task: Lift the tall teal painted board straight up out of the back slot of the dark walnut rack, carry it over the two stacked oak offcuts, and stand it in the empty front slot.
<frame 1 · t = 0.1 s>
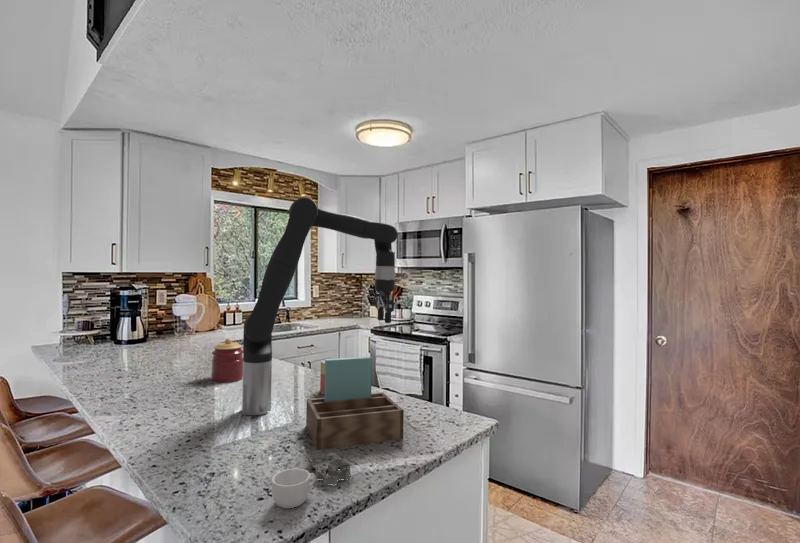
hand: (384, 321, 160), 29 cm above the counter, tool pointing down, fingers open, 8 cm apart
rack: (352, 437, 123), on the counter
canned food: (334, 391, 170), on the counter
egg carton: (329, 476, 100), on the counter
teacup: (295, 501, 89), on the counter
canister: (227, 379, 185), on the counter
teal board: (347, 424, 129), point 1 cm above the counter, touching rack
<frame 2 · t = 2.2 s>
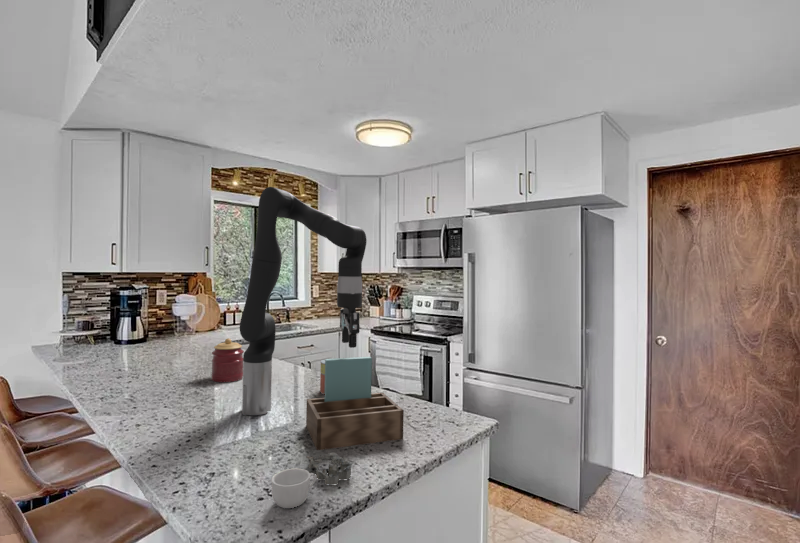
hand: (348, 344, 129), 26 cm above the counter, tool pointing down, fingers open, 8 cm apart
nothing on the counter moved.
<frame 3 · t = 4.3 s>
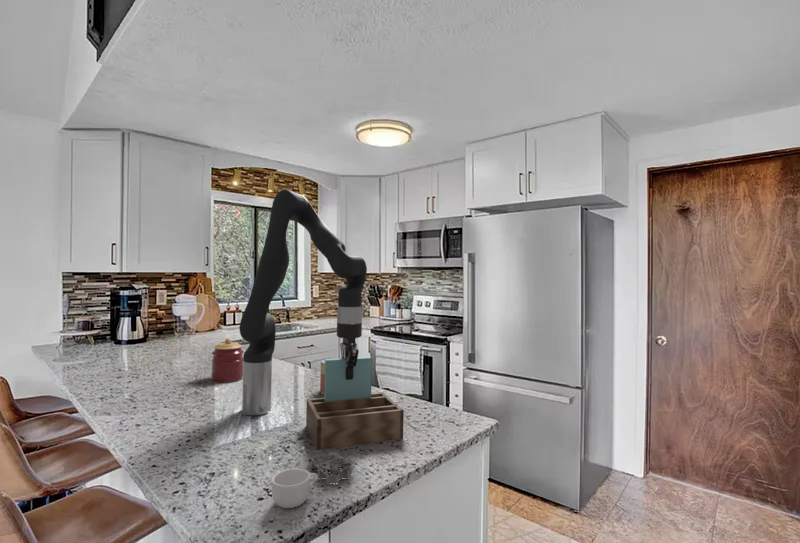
hand: (348, 378, 129), 16 cm above the counter, tool pointing down, fingers closed on teal board, 2 cm apart
teal board: (347, 424, 129), point 2 cm above the counter, touching gripper
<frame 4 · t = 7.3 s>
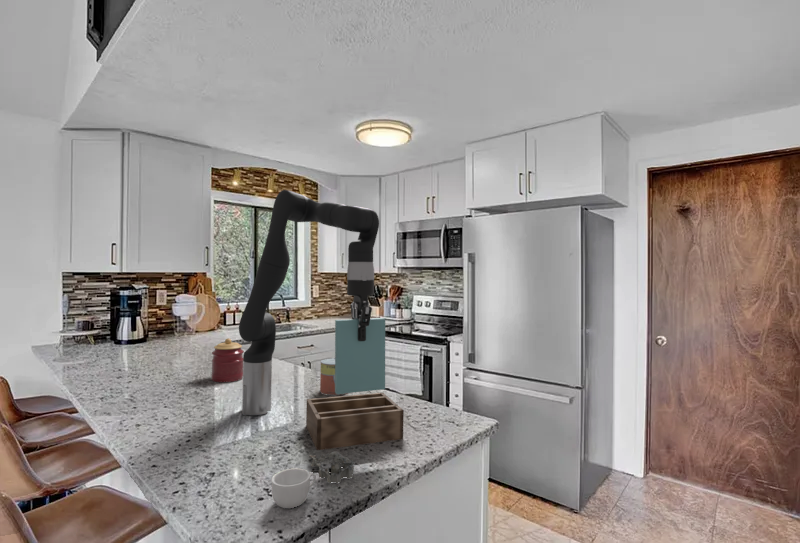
hand: (360, 340, 119), 29 cm above the counter, tool pointing down, fingers closed on teal board
teal board: (360, 390, 119), point 15 cm above the counter, touching gripper
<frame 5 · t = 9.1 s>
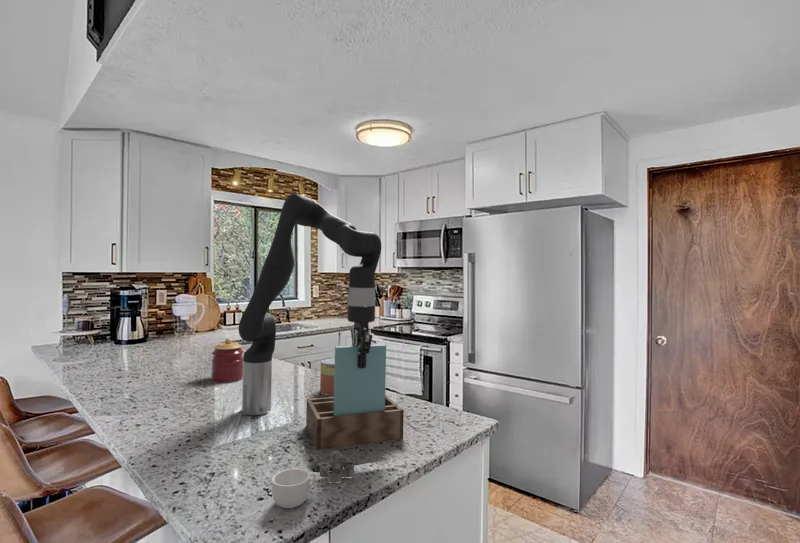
hand: (360, 366, 117), 22 cm above the counter, tool pointing down, fingers closed on teal board
teal board: (359, 418, 117), point 8 cm above the counter, touching gripper
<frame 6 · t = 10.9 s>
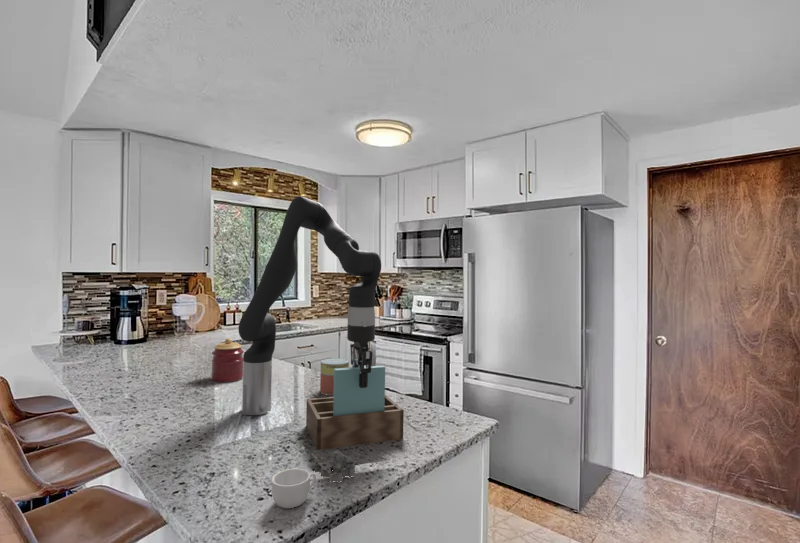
hand: (360, 384, 117), 17 cm above the counter, tool pointing down, fingers open, 5 cm apart
teal board: (358, 440, 117), point 1 cm above the counter, touching rack
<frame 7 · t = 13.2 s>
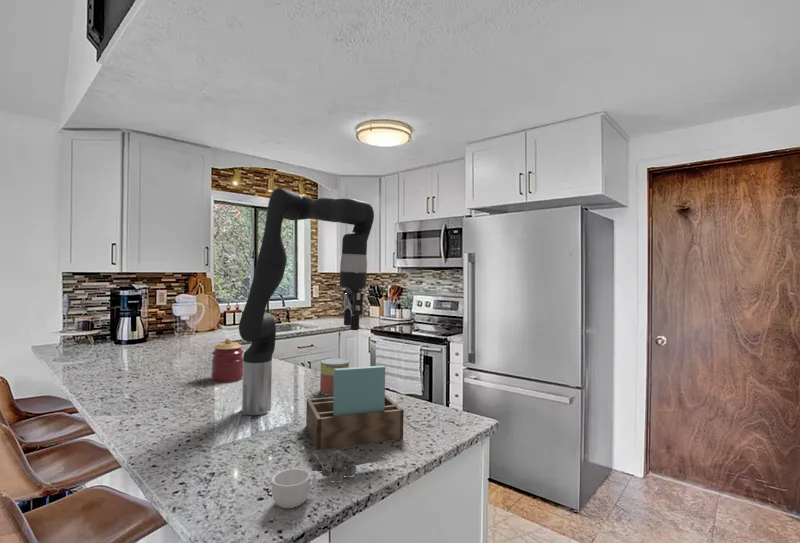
hand: (351, 327, 121), 32 cm above the counter, tool pointing down, fingers open, 8 cm apart
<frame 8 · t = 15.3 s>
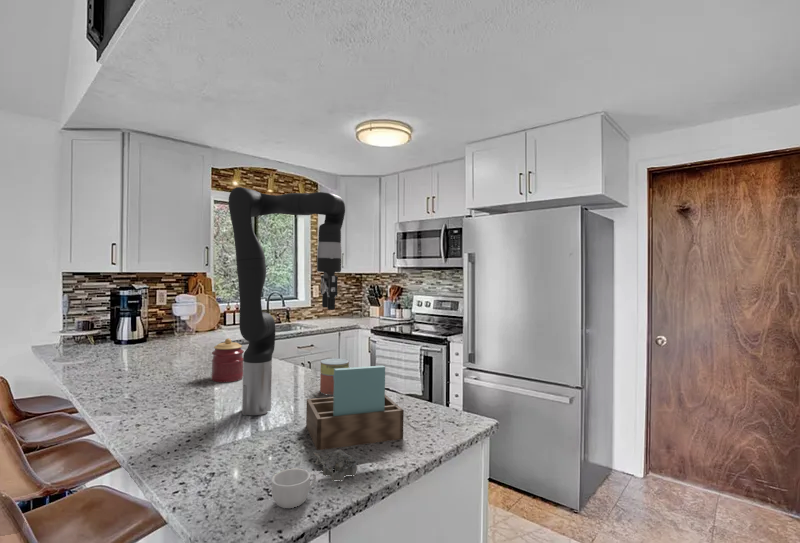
hand: (328, 308, 134), 36 cm above the counter, tool pointing down, fingers open, 8 cm apart
at the end: teal board inside the target area on the rack (0.1 cm from its centre), point 1.5 cm above the rack's base; the gripper is holding nothing; teal board tilted 0° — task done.
